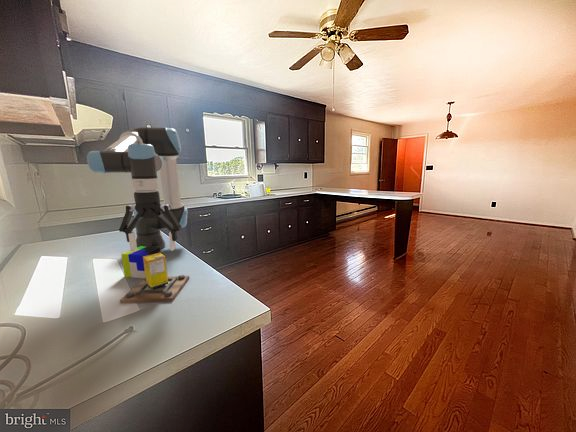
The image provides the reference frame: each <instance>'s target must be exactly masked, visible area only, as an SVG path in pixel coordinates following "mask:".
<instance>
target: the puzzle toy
mask: <svg viewBox="0 0 576 432" xmlns="http://www.w3.org/2000/svg"><path fill="white" fill-rule="evenodd" d="M156 253H161V249H160V248H158V247H145V246H140V247H137V249H136V250H135V251H133V252H131V250H127V251H125V252H122V253H121V261H122V268H123V275H124V277H127V278H134V279H136V278H137V279H144V278H145V277H146V276H145V268H144V261H143V256H148V255H152V254H156ZM161 254H162V253H161Z"/></svg>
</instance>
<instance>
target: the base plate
mask: <svg viewBox="0 0 576 432" xmlns="http://www.w3.org/2000/svg"><path fill="white" fill-rule="evenodd" d="M167 277H168V284H166V285H163V286H160V287H157V288H154V289H150V287H149V286H148V285H147V283H146V277H145V278H142V280H141V281H140V282H138V283H137V284H136V285H135V286H134V287H133V288H131V290H129V291H128V292H127V293H126V294H125V295H124V296H123V297H121V298H120V299H119V304H132V303H134V304H135V303H156V302H157V303H159V302H161V303H162V302H163V303H164V302H173V301H174V300H175V299H176V297H177V296H178V294H179V293H180V292H181V290H182V289H183V288H184V286H185V285H186V284H187V283H188V281H189V279H190V275H185V274H181V275H169V276H168V275H167Z"/></svg>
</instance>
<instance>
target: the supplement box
mask: <svg viewBox="0 0 576 432" xmlns="http://www.w3.org/2000/svg"><path fill="white" fill-rule="evenodd" d="M143 261H144V268H145V276H146V283H147V285H148V286H149V287H150V289H154V288H157V287H160V286H163V285H166V284H168V277H167V276H168V269H167V261H166V256H165V255H164V254H162V253H156V254H152V255H148V256H143Z"/></svg>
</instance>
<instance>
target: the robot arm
mask: <svg viewBox="0 0 576 432" xmlns="http://www.w3.org/2000/svg"><path fill="white" fill-rule="evenodd" d="M181 152H182V144H181V140H180V136H179V133H178V131H177V130H176V129H175V128H170V127H153V126H152V127H151V126H148V127H147V126H140V127H135V128H132V129H128V130H126V131H124V132H122V133H121V134H120V135H119V139H118V140H116V141H115V142H113V143H112V144H110V145H109V146H108V147H107V148H105V149H103V150H91V151H89V152H87V155H86V162H87V166H88V168H89V170H91V171H92V172H94V173H102V174H106V173H107V174H118V173H120V174H121V173H124V174H125V173H127V174H128V173H129V174H130V175H131V183H132V190H133V191H134V193H133V198H134V203H135V205H133V204H129V205H126V206H125V213H124V216H123V219H122V221H121V224H120V226H119V229H118V231H119V232H120V233H124V234H125V236H126V237H125V238H126V241H127V243H129V249H130V250H131V252H133V251H135V250H136V249H137V247H140V246H145V247H158V248H160V250H162V249H165V247H166V241H165V239H164V238H163V236H162V233H161V230H168V231H169V232H168V238H169V239H168V240H169V248H170V249H169V250H170V251H171V252H172V251H174V250H175V249H176V241H177V240H178V234H177V233H178V232H179V231H181V230H182V228H186V226H187V223H188V222H187V221H188V207H186V206H185V204H184V203H183V202H182V198H181V192H180V183H179V181H180V180H179V172H178V164H177V158H178V157H179V156H180V155H179V154H180V153H181ZM157 172H159V177H160V178H159V179H160V183H161V184H160V185H161V190H162V198H163V203H161V197H160V192H159V191H158V190H159V188H160V187H159V180H158V173H157ZM133 216H134V217H133ZM132 217H133V220H132V221H131V219H132ZM134 229H135V231H134ZM130 250H129V251H130Z"/></svg>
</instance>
